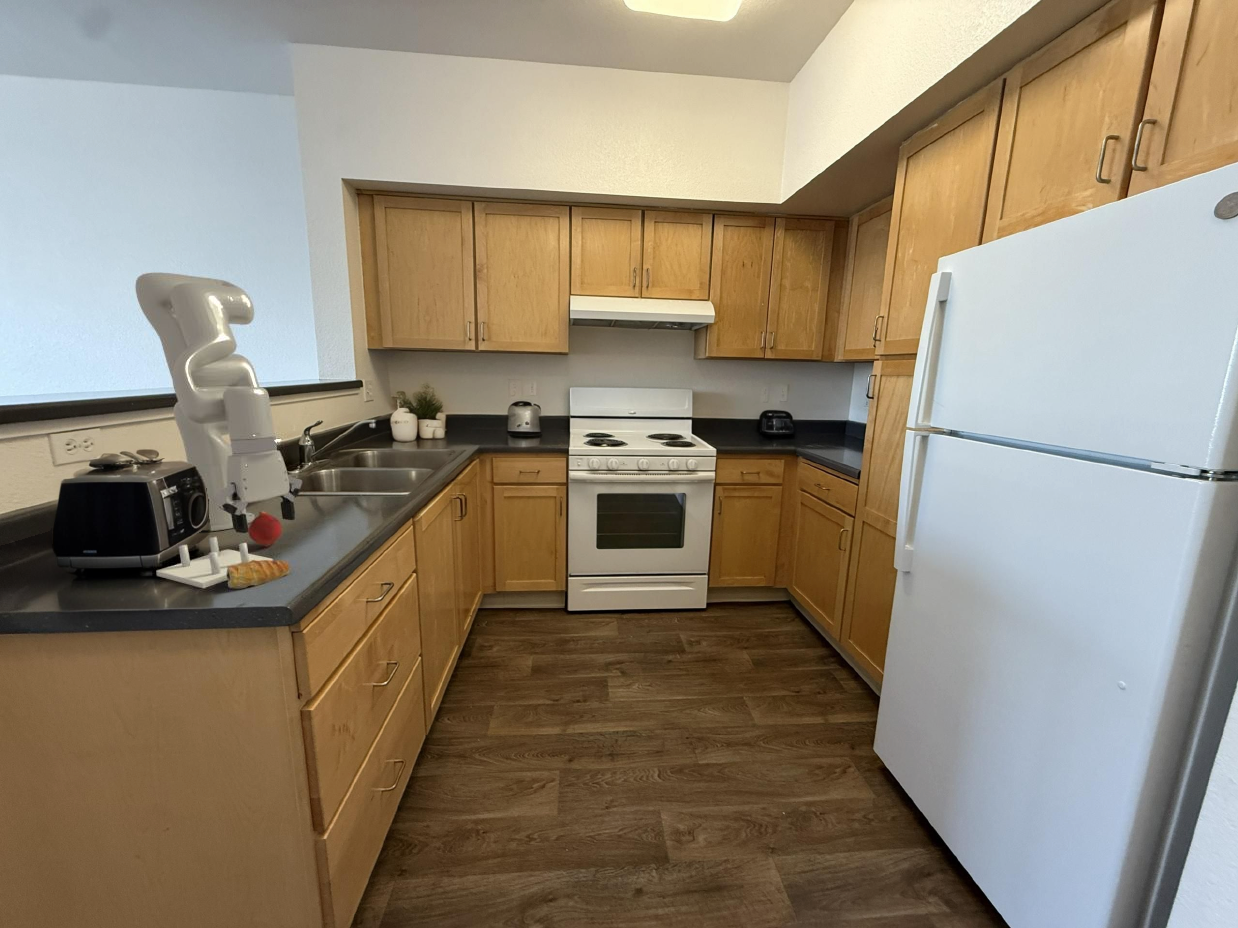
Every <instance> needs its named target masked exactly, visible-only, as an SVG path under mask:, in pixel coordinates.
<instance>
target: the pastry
mask: <svg viewBox="0 0 1238 928" xmlns="http://www.w3.org/2000/svg"><path fill="white" fill-rule="evenodd" d="M290 572H291V567H290V565H289V563H288V562H287V561H283V560H273V561H270V560H260V561H256V560H252V561H250V562H243V563H238V564H237V565H236V566H234V565H231V566H228V567H227V574H226V576H227V579H228V580H227V586H228V588H230V589H235V590H241V589H246V588H248V587H249V586H254V587H255V586H259V585H263V584H267V583H270V582H273V581H276V580H279V579H281V578H283V577H284V576H286V575H289V573H290Z"/></svg>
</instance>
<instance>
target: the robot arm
mask: <svg viewBox="0 0 1238 928" xmlns="http://www.w3.org/2000/svg"><path fill="white" fill-rule="evenodd" d="M135 294H136V298H137V301H138V304H139V306H140V309H141V312H142V313H143V315H144V316H145V318H146V319H147V321H148V322H149V324H150V325H151V327H152V329H154V331H155V332H156V334H157V336H158V338H159V340H160V343H161V346H162V350H163V353H164V357H165V360H166V363H167V367H168V370H169V373H170V376H171V379H172V380H171V381H172V386H173V389H174V393H175V396H176V399H177V402H176V403H175V405H174V407H173V418H174V421H175V423H176V426H177V428H178V430H179V434H180V437H181V440H182V442H183V447H184V451H185V456H186V457H185V458H186V461H187V462H188V463H190V464H192V465H194V466H196V467H197V469H198V471H199V473H200V475H201V476H202V479H203V481H204V483H205V486H206V488H207V494H208V499H209V519H210V525H211V531H210V532H213V531H214V532H215V531H217V532H218V531H222V530H223V531H224V530H229V529H234V530H235V532H236V533H240V534H247V533H248V531H249V526H248V524H251V523H252V521H253V520H254V519H255V518H256V517H255V513H252V512H247V509H246V508H247V506H248V504H252V503H257V502H258V503H259V502H261V501H266V500H270V499H271V500H272V499H274V498H279V499H281V501H280V509H281V517H282V519H283V520H286V521H294V520H295V519H296V516H295V515H296V511H295V506H294V505H295V504H294V502H296V500H297V496H298V495H299V494H300V491H301V490H300V489H301V487H302V485H303V479H300V478H297V477H294V476H290V475H289V474H288V470H287V467H286V464H285V461H284V458H283V456H282V453H281V451H280V450H277V449H278V445H281V444H282V440H281V439H280V438H276V436H275V430H274V429H275V427H274V423H273V421H274V420H273V416H272V409H271V401H270V395H269V392H268V390H267V389H265V388H264V387H260V385H259V381H258V378H257V375H256V370H255V368H254V367H253V365H252V363H251V361H250V360H249V359H248V358H247V357H245V356H244V355H242V354H237V353H235V352H236V350H237V347H238V345H237V342H236V338H235V336H234V333H233V332H232V329H231V326H230V325H240V326H241V325H242V326H243V325H244V326H245V325H249V324H251V323H252V322H253V320H254V317H255V308H254V304H253V301H252V300H251V297H250V296H249V294H248V293H247V292H246V291H245V290H244V289H243V288H241V287H239V286H237V285H235V284H233V283H231V282H230V281H226V280H223V279H217V278H212V277H211V278H210V277H202V276H193V275H187V274H179V273H171V272H146V273H143V274H140V275H139V276H138V277H137V278H136V280H135ZM226 435H228V436H229V441H230V443H229V442H228V441H227V440H226V439H224V438H223V437H222V436H226ZM188 463H187V464H188ZM290 484H291V488H290Z"/></svg>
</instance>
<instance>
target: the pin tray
mask: <svg viewBox="0 0 1238 928" xmlns="http://www.w3.org/2000/svg"><path fill="white" fill-rule="evenodd" d="M208 540H209V546H210V547H209V548H210V552H208V554H207V555H204V556H201V557H197V558H193V559H190V553H189V548H188V544H181V545H179V546H178V551H179V555H180V563H177V564H175V565H171V566H167V567H164V568H161V569H157V570H156V577H160V578H165V579H166V580H172V581H175V582H178V583H183V584H186V585H190V586H194V587H196V588H201V589H206V588H208V587H211V586H214V585H216V584H220V583H222V582H225V581H229V580H228V579H227V576H226V574H227V567H228V566H231V565H234V566H236V565H237V564H238V563H243V562H250V561H252V560H256V561H260V560H270V561H274V559H273V558H270V557H265V556H260V555H256V554H253V553H249V551H248V544H247V542H241V543H239V544H238V547H239V550H234V549H233V550H232V549H229V548H228V549H224V550H221V551H220V547H219V542H218V536H211V537H208Z"/></svg>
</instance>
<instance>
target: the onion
mask: <svg viewBox="0 0 1238 928" xmlns="http://www.w3.org/2000/svg"><path fill="white" fill-rule="evenodd" d="M247 533H248V536H249V538H250V540H253V541H254V542H255V543H257V544H259V545H261V546H262V547H270V546H271V545H273V544H274V543H275V542H276V541H278V540H279V538H280V537H281V535H282V533H283V526H282V523H281V521H280V520H279V519H277V517H275V516H274V515H271V514H269V513H267V512H265V511H263V510H259V511H258V516H256V517H255V519H254V520H253V521H252V522H250V523H249V526H248V532H247Z"/></svg>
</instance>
